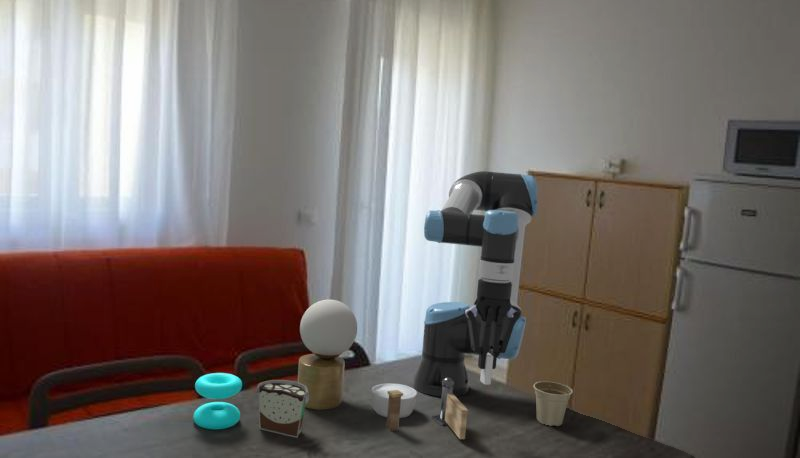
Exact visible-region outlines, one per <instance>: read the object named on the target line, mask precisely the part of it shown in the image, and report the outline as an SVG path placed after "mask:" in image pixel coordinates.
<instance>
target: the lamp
mask: <svg viewBox="0 0 800 458" xmlns="http://www.w3.org/2000/svg"><path fill="white" fill-rule="evenodd" d="M299 333H300V338H301V340H302V343H303V344H304V346H305V347H306V348H307V349H308V350H309V351H310V352H312V353H309V354H305V355H302V356H300V357H299V359H298V367H297V368H298V369H297V382H298V383H301V384H303V385H305V386H306V387H307V390H308V393H309V401H308V402H307V403H305V408H306V409H312V410H331V409H335V408H339V407H340V406H341V405H342V402H343V392H344V391H343V390H344V380H345V379H344V378H345V367H346V366H345V362H346V361H345V360H344V358H343V357H341V355H343V354H344V353H346V352H347V351H348V350H349V349H350V348H351V347H352V345H354V344H353V343H354V342H355V340H356V338H357V334H358V322H357V318H356V316H355V313H354V312H353V311H352V309H351V308H350V307H349V306H348V305H347V304H346V303H344V302H342V301H339V300H337V299H323V300H319V301H316V302H314V303H313V304H312V305H311V306H309V307H308V308H307V309H306V311H304V313H303V315H302V317H301V320H300V325H299Z"/></svg>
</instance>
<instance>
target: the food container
mask: <svg viewBox="0 0 800 458" xmlns="http://www.w3.org/2000/svg"><path fill="white" fill-rule="evenodd" d="M255 393H258V394H257V399H258V400H257V401H258V424H259V426H258V427H259V428H258V429H259V430H262V431H266V432H269V433H270V432H271V433H275V434H279V435H283V436H287V437H291V438H296V439H299V437H300V436H301V432H302V427H303V421H304V414H305V408H306V407H305V403H307V402H308V401H309V393H308V390H307V387H306V386H305V385H303V384H301V383H298V381H294V380H286V379H272V380H271V379H270V380H266V381H262V382H259V383H258V384H257V386H256V389H255Z"/></svg>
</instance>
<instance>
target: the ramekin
mask: <svg viewBox="0 0 800 458" xmlns="http://www.w3.org/2000/svg"><path fill="white" fill-rule="evenodd" d="M390 390H399V391H400V392H402V393H403V396H401V404H400V416H399V419H401V418H406V417H408V416H410V415H411V414H412V413H413V411H414V407H415V403H416V399H417V398H418V391H417V389H416V388H413V387H410V386H409V385H405V384H401V383H380V384H376V385H374V386H372V388H371V400H372V409H373V410H374V412H375V413H376V414H377V415H380V416H381V417H385V418H387V414H388V402H389V394H388V393H387V392H388V391H390Z"/></svg>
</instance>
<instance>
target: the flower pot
mask: <svg viewBox="0 0 800 458" xmlns="http://www.w3.org/2000/svg"><path fill="white" fill-rule="evenodd" d="M532 387H533V389H534V394H535V403H536V405H535V406H536V407H535V408H536V420H537V422H538V423H540V424H542V425H544V424H545V426H547V425H549V426H548V427H553V426H556V427H560V426H561V425H562V424H563V422H564V417H565V414H566V409H567V405H568V402H569V400H570V398H571V395H572V394H573V391H574V390H573V389H572V388H571V387H570V386H568V385H565V384H563V383H559V382H555V381H548V380H547V381H536V382H535V383H534V384H533V386H532Z"/></svg>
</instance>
